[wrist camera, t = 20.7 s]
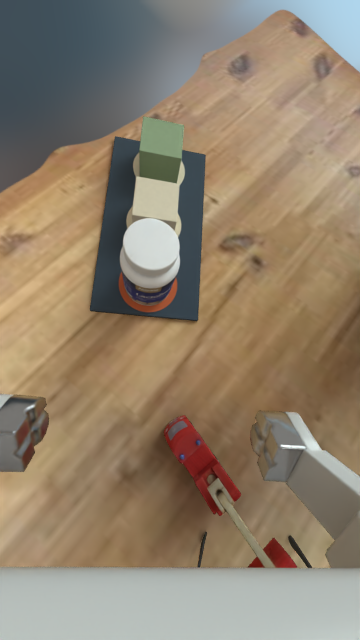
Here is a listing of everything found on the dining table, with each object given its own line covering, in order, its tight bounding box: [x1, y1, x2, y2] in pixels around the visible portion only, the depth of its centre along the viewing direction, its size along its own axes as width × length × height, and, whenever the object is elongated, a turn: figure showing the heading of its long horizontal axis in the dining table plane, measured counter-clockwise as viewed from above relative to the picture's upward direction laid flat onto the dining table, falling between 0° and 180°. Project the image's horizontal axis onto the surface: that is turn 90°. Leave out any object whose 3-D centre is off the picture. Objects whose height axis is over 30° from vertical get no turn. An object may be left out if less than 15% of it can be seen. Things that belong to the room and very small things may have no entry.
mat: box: [90, 136, 205, 321], centre depth 30 cm, size 25×13×1 cm, turn 176°
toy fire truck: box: [164, 415, 297, 568], centre depth 21 cm, size 3×14×10 cm, turn 36°
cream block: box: [132, 176, 180, 231], centre depth 28 cm, size 5×5×4 cm
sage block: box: [139, 117, 184, 184], centre depth 30 cm, size 5×5×4 cm
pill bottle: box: [120, 218, 180, 306], centre depth 23 cm, size 6×6×10 cm
